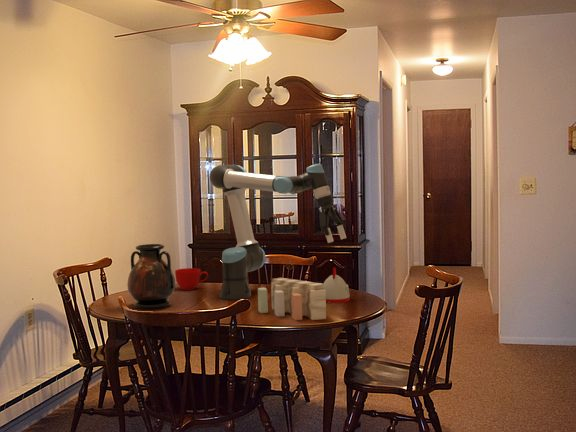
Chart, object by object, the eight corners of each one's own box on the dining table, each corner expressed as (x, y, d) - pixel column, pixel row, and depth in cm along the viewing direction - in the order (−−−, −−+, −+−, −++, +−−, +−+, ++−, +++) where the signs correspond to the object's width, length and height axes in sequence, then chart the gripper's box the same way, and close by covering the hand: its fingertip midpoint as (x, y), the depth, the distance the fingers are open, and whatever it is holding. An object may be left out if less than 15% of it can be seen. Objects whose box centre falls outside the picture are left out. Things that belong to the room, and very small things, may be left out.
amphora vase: (183, 301, 321) (180, 242, 319) (165, 311, 300) (163, 248, 298) (140, 301, 325) (137, 242, 323) (120, 310, 304) (117, 248, 302)
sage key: (258, 310, 296) (257, 287, 295) (265, 310, 296) (264, 287, 296) (260, 313, 291) (260, 289, 290) (267, 312, 291) (267, 289, 291)
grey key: (274, 314, 288) (274, 290, 287) (281, 313, 289) (280, 290, 288) (277, 316, 283) (277, 292, 283) (284, 316, 284) (284, 292, 283)
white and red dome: (350, 297, 322) (350, 265, 321) (348, 303, 309) (348, 270, 308) (321, 297, 325) (320, 265, 324) (318, 302, 311) (317, 270, 310)
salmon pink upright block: (291, 317, 281) (291, 293, 280) (298, 317, 282) (298, 293, 281) (295, 320, 276) (294, 295, 275) (302, 319, 277) (301, 295, 276)
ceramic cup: (206, 291, 348) (206, 271, 347) (173, 291, 348) (173, 272, 347) (210, 286, 361) (209, 267, 360) (178, 287, 361) (177, 268, 360)
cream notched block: (264, 311, 296) (263, 279, 295) (280, 307, 303) (279, 276, 302) (317, 321, 274) (316, 287, 273) (333, 317, 280) (332, 283, 279)
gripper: (317, 195, 304) (332, 241, 303) (342, 192, 326) (355, 235, 324) (304, 201, 308) (318, 245, 307) (328, 197, 330) (342, 239, 328)
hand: (337, 240), depth 315 cm, fingers open, 13 cm apart
